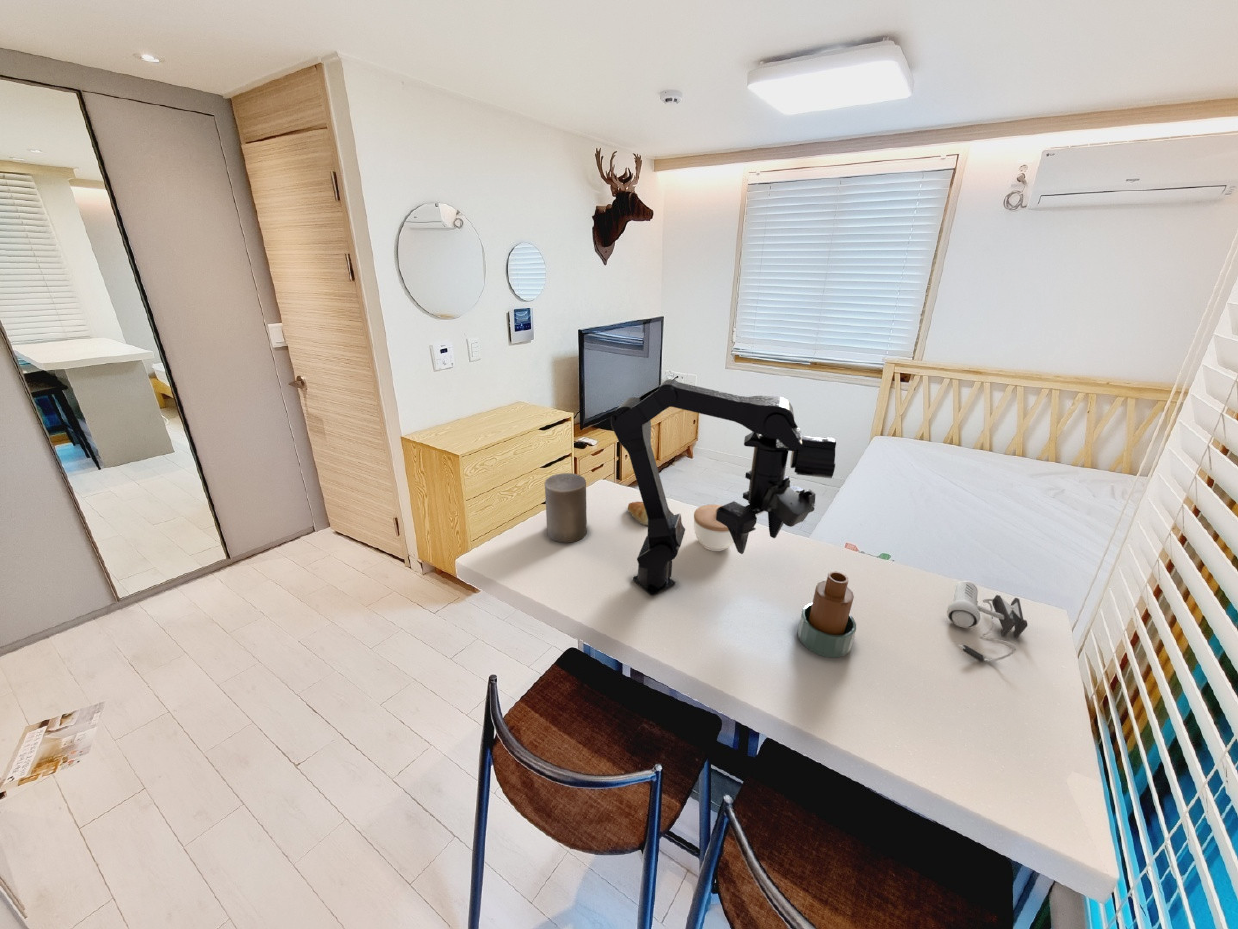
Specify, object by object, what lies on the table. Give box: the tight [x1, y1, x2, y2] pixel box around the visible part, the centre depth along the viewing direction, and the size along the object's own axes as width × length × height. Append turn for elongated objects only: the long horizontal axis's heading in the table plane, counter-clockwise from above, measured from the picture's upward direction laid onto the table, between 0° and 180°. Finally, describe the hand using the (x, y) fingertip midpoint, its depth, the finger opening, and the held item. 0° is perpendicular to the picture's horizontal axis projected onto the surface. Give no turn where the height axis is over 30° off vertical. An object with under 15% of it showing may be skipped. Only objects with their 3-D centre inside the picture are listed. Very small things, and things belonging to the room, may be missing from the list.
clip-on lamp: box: [946, 580, 1029, 662], centre depth 91 cm, size 12×6×18 cm
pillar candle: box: [544, 472, 588, 544], centre depth 118 cm, size 10×10×15 cm
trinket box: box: [693, 503, 734, 552], centre depth 116 cm, size 11×11×9 cm
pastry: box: [627, 501, 648, 526], centre depth 129 cm, size 9×7×4 cm
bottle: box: [808, 571, 855, 636], centre depth 88 cm, size 6×6×13 cm
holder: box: [797, 602, 857, 659], centre depth 90 cm, size 9×9×5 cm
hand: (757, 544), depth 95 cm, fingers open, 9 cm apart
